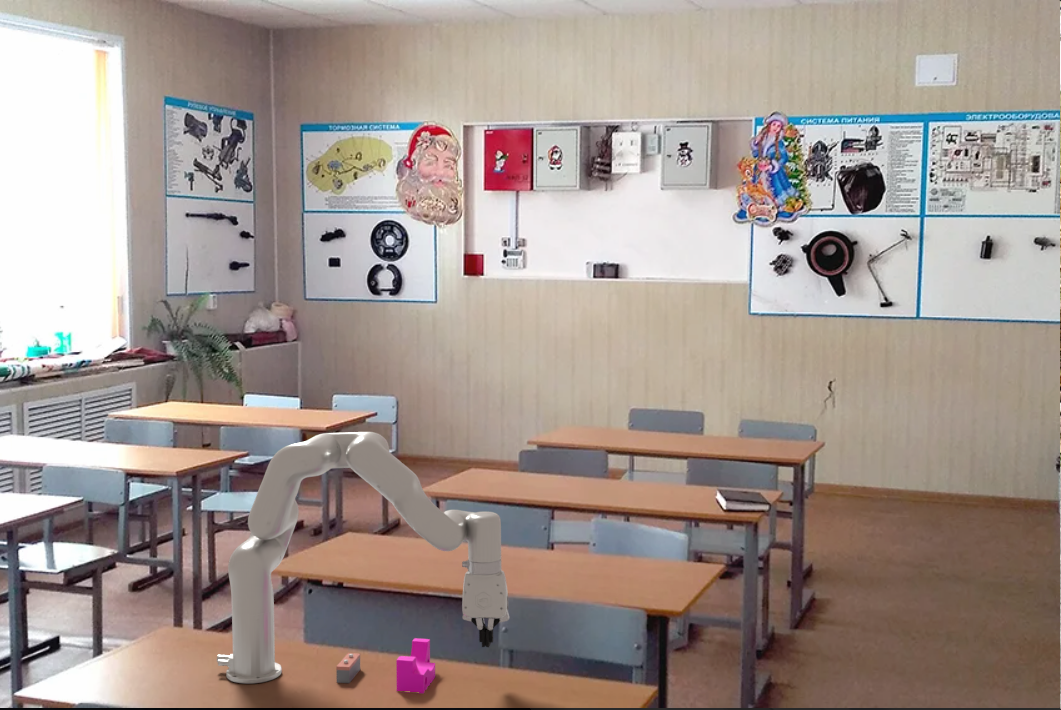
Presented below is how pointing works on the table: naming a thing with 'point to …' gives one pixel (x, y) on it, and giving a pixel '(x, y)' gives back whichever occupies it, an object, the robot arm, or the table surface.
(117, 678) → the table surface
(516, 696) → the table surface
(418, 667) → the magenta curved block
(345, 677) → the block
